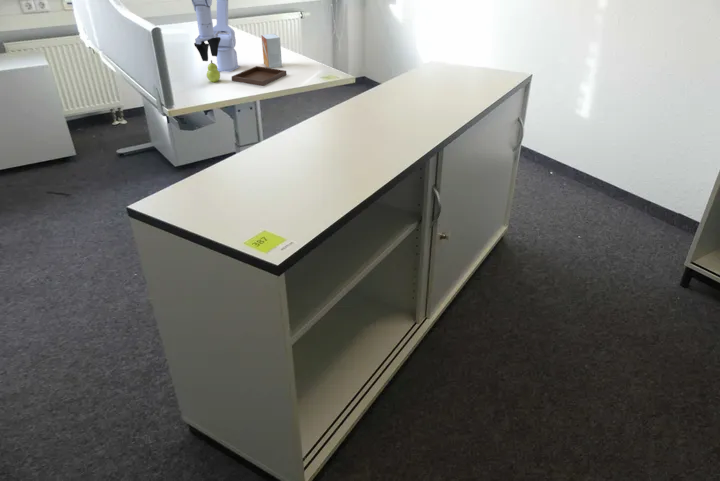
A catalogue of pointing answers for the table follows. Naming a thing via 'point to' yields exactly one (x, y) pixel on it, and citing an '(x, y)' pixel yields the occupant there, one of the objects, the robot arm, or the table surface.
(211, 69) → the pear
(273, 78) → the tray
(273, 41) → the small box
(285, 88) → the table surface
